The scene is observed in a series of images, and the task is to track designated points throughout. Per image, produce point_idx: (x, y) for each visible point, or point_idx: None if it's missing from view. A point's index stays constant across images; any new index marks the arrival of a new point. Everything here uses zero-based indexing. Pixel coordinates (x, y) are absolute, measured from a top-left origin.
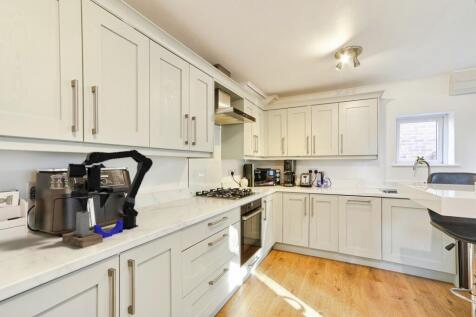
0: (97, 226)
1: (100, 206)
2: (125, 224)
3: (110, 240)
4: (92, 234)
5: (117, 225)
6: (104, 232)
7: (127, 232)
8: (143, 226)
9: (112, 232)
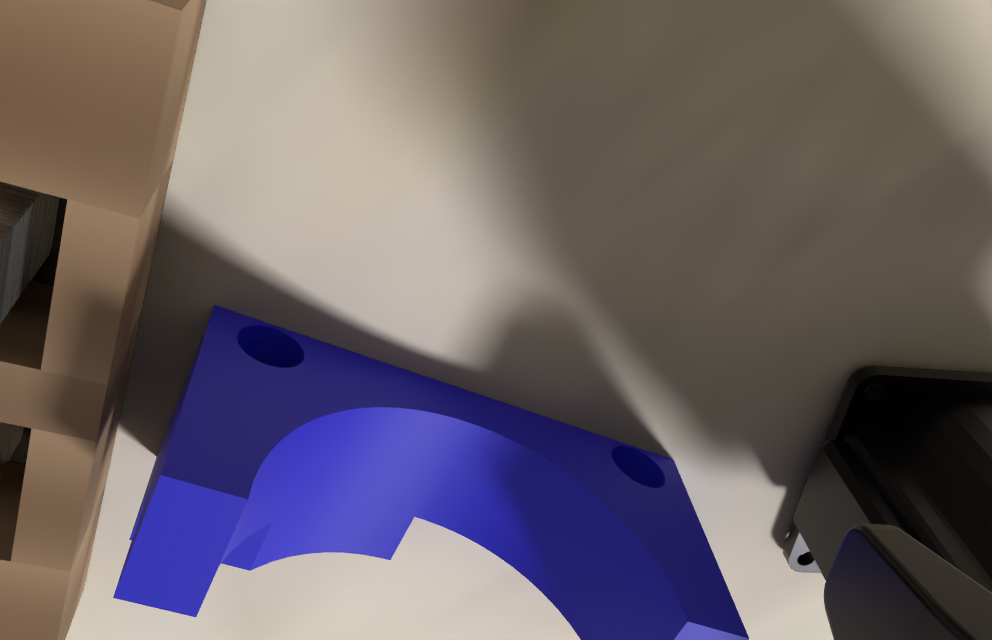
0: (120, 592)
1: (875, 580)
2: (823, 554)
3: (190, 631)
4: (25, 486)
5: (600, 592)
6: (243, 561)
7: None
8: None
9: (447, 522)
